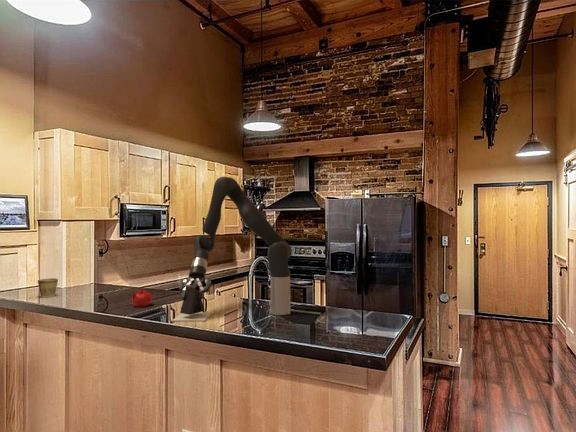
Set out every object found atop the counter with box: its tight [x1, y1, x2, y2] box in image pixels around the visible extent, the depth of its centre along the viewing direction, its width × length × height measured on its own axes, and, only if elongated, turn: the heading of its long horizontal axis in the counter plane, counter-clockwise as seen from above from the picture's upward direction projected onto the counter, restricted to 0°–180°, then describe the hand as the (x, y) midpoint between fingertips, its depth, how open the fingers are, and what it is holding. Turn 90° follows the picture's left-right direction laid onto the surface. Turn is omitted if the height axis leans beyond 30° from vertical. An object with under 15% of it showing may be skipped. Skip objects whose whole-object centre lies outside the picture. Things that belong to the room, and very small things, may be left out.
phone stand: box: [180, 284, 205, 315], centre depth 172 cm, size 9×6×12 cm, turn 147°
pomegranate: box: [131, 287, 153, 308], centre depth 197 cm, size 10×10×9 cm
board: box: [172, 311, 213, 323], centre depth 172 cm, size 14×14×1 cm
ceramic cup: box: [37, 277, 59, 299], centre depth 224 cm, size 13×10×10 cm
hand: (191, 299), depth 170 cm, fingers closed on phone stand, 6 cm apart
